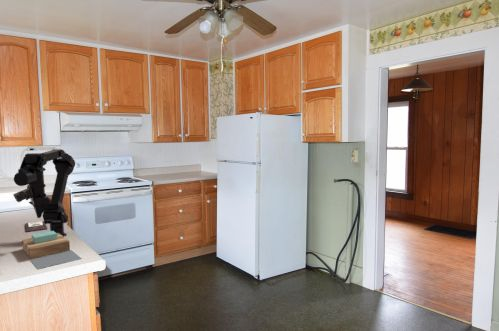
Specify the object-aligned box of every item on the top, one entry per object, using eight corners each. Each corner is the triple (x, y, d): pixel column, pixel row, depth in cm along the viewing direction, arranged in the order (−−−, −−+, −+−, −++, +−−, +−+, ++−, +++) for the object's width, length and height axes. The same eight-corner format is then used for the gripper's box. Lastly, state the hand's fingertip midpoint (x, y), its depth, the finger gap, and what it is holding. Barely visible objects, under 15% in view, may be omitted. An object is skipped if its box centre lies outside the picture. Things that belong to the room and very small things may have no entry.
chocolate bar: (26, 231, 174) (25, 223, 188) (26, 233, 174) (25, 225, 189) (47, 228, 178) (44, 220, 193) (47, 230, 179) (44, 222, 193)
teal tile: (32, 240, 148) (31, 234, 147) (53, 236, 153) (53, 230, 153) (35, 243, 143) (35, 237, 143) (57, 239, 149) (56, 233, 148)
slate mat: (29, 259, 137) (29, 259, 137) (71, 250, 147) (71, 250, 147) (37, 269, 127) (37, 269, 127) (81, 258, 137) (81, 258, 137)
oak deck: (22, 249, 149) (22, 239, 149) (59, 241, 158) (58, 232, 158) (31, 259, 137) (30, 249, 137) (69, 250, 147) (69, 241, 146)
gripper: (10, 182, 153) (13, 217, 155) (18, 187, 139) (21, 225, 141) (39, 179, 160) (41, 213, 162) (50, 183, 147) (52, 220, 148)
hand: (39, 217), depth 153 cm, fingers closed
